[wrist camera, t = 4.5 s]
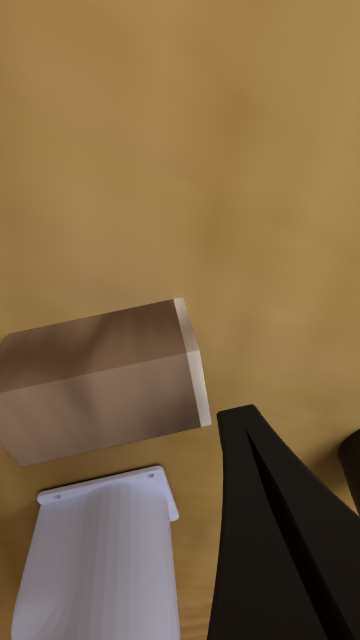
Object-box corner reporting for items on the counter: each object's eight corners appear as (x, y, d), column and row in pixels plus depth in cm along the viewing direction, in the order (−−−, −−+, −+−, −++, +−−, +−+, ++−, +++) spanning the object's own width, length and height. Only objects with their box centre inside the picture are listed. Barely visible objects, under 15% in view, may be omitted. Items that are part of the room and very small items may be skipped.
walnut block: (194, 362, 17) (45, 394, 17) (182, 297, 15) (9, 333, 15) (211, 424, 14) (20, 467, 13) (199, 349, 11) (-35, 400, 11)
